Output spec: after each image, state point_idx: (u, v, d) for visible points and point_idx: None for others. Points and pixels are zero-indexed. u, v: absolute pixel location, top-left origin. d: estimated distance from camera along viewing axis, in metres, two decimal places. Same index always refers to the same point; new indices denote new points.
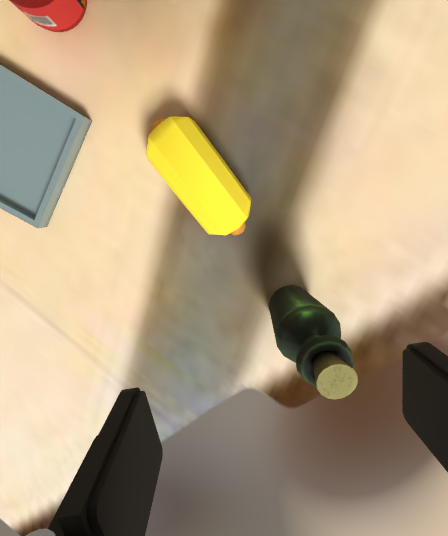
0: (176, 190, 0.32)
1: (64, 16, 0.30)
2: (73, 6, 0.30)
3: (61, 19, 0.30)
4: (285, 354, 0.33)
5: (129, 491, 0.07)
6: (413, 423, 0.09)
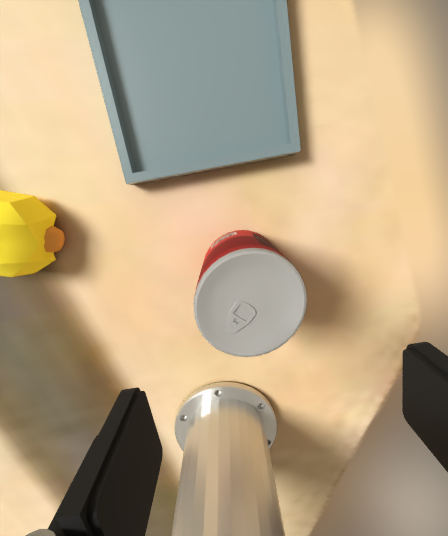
0: None
1: (204, 260, 0.26)
2: None
3: (206, 255, 0.26)
4: None
5: (129, 491, 0.07)
6: (413, 423, 0.09)
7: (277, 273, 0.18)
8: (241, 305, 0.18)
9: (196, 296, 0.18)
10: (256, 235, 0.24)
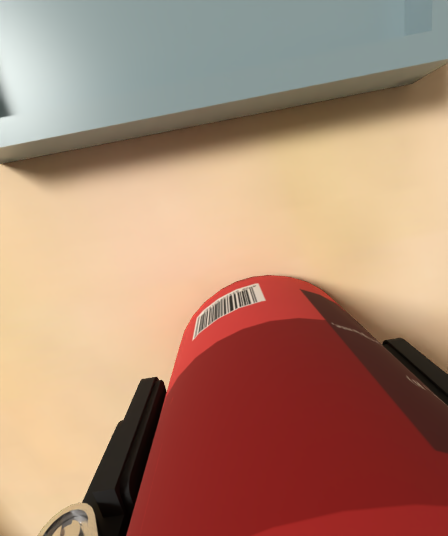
0: None
1: (177, 356, 0.10)
2: None
3: (182, 343, 0.10)
4: None
5: None
6: None
7: None
8: None
9: None
10: (321, 304, 0.08)
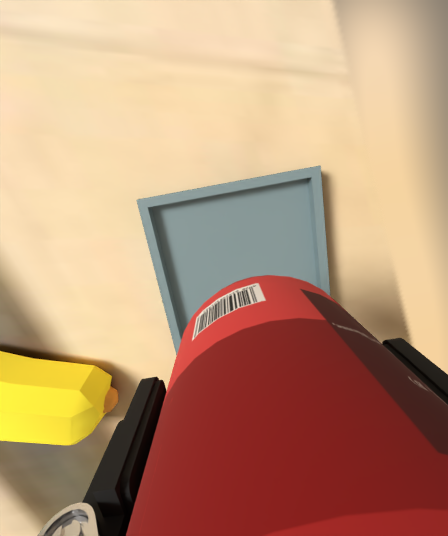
0: (16, 388, 0.25)
1: None
2: None
3: (182, 343, 0.10)
4: None
5: None
6: None
7: None
8: None
9: None
10: (322, 304, 0.08)
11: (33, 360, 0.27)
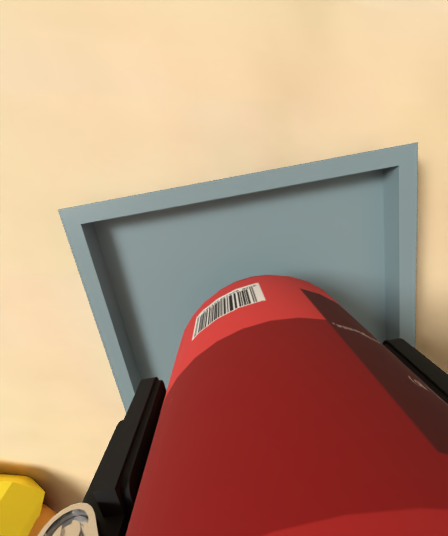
0: None
1: (176, 356, 0.10)
2: None
3: (182, 344, 0.10)
4: None
5: None
6: None
7: None
8: None
9: None
10: (322, 304, 0.08)
11: None
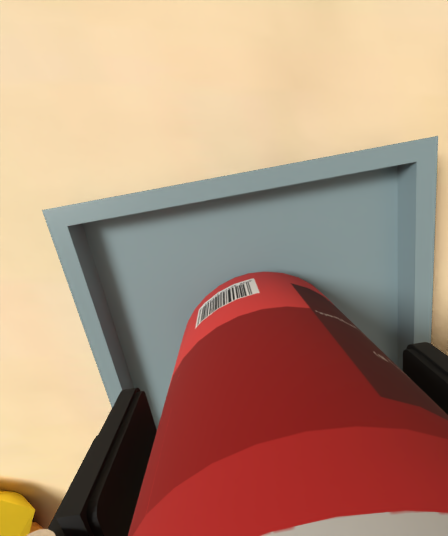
0: None
1: (181, 344, 0.11)
2: None
3: (185, 332, 0.11)
4: None
5: (129, 491, 0.07)
6: None
7: None
8: None
9: None
10: (309, 296, 0.10)
11: None
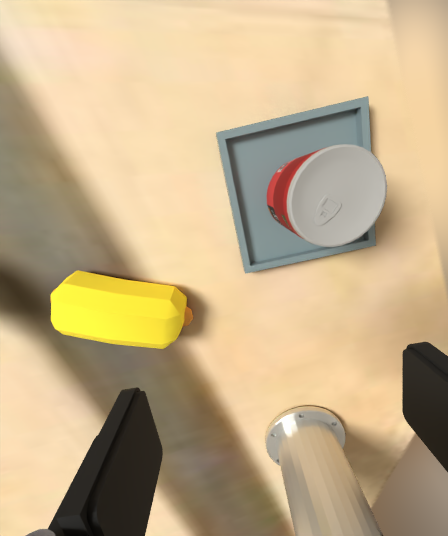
0: (121, 297, 0.30)
1: (271, 184, 0.29)
2: (268, 198, 0.29)
3: (273, 180, 0.29)
4: None
5: (129, 491, 0.07)
6: (413, 423, 0.09)
7: (361, 166, 0.20)
8: (329, 198, 0.21)
9: (292, 190, 0.21)
10: None
11: (125, 280, 0.33)
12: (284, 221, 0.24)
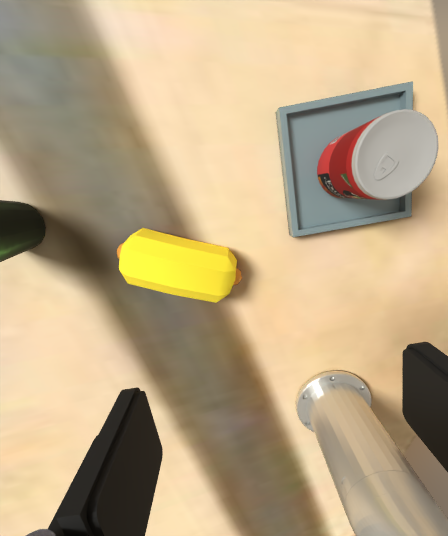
0: (185, 250, 0.34)
1: (325, 154, 0.33)
2: (321, 167, 0.33)
3: (326, 150, 0.33)
4: None
5: (129, 491, 0.07)
6: (413, 423, 0.09)
7: (417, 129, 0.24)
8: (388, 156, 0.25)
9: (358, 147, 0.25)
10: None
11: (186, 239, 0.36)
12: (342, 180, 0.28)
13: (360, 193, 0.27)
